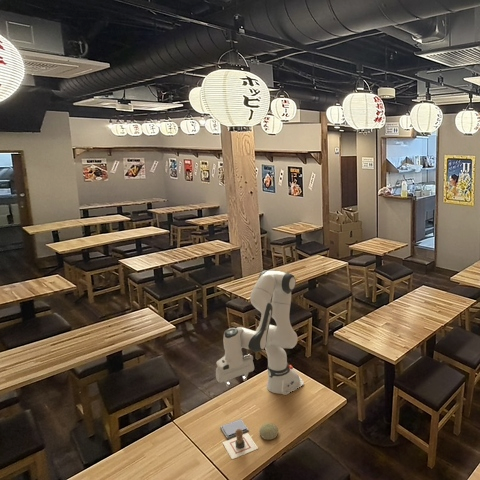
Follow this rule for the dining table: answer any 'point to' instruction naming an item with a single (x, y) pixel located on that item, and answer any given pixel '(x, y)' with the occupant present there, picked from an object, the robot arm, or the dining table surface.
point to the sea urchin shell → (268, 431)
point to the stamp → (239, 439)
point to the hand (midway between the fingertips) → (236, 383)
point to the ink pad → (233, 428)
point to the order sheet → (236, 452)
